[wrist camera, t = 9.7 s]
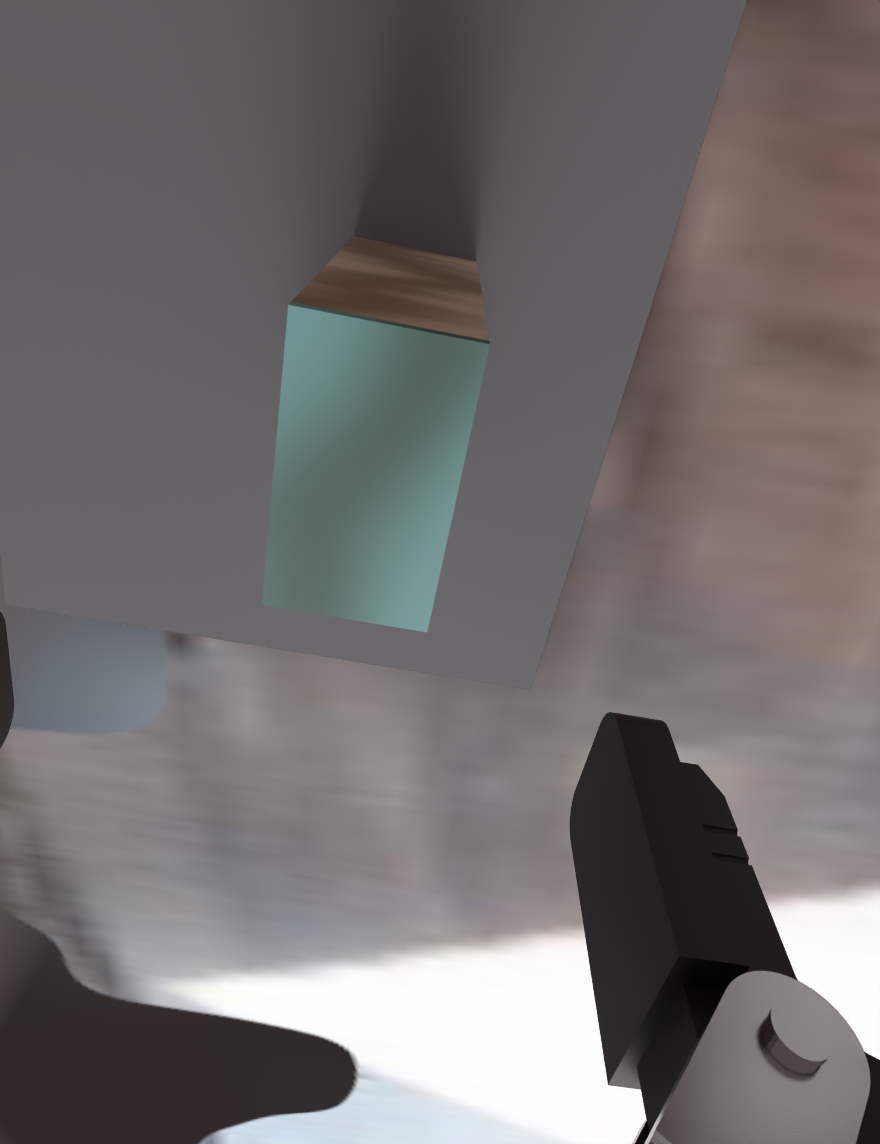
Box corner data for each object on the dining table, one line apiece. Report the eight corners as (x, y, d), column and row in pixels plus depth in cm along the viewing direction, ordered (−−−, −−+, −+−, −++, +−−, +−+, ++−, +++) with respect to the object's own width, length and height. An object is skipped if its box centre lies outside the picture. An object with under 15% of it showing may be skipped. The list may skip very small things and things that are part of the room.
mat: (755, -60, 22) (768, -69, 21) (528, 676, 34) (530, 690, 33) (-63, -262, 20) (-86, -279, 19) (17, 592, 33) (6, 604, 32)
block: (476, 261, 25) (490, 344, 15) (436, 462, 28) (427, 632, 19) (352, 236, 25) (288, 305, 15) (327, 442, 28) (261, 604, 19)
